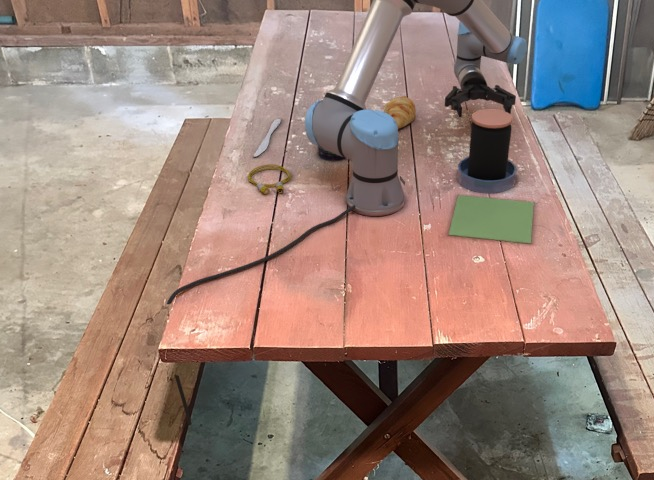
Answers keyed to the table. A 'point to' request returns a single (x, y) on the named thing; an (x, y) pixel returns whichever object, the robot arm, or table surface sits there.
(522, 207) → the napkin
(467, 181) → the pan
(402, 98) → the croissant
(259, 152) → the butter knife
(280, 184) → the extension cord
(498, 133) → the coffee jar
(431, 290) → the table surface
